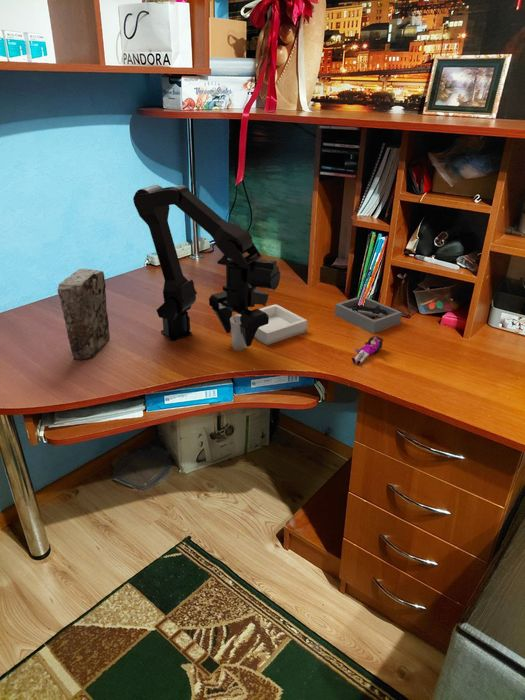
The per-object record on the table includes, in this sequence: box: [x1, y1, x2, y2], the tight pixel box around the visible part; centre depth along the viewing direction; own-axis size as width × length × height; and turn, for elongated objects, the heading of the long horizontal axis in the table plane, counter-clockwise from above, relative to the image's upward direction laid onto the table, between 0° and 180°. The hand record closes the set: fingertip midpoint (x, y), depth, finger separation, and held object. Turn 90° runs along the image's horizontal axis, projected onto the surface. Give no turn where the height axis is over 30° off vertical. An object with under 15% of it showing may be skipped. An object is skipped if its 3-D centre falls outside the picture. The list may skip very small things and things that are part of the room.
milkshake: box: [230, 313, 247, 351], centre depth 137 cm, size 4×5×10 cm
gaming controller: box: [349, 302, 387, 320], centre depth 155 cm, size 11×4×7 cm
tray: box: [253, 303, 308, 346], centre depth 149 cm, size 14×14×4 cm
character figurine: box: [351, 335, 384, 366], centre depth 136 cm, size 6×5×12 cm
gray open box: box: [334, 297, 403, 334], centre depth 155 cm, size 11×15×4 cm
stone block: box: [57, 268, 111, 361], centre depth 133 cm, size 13×7×20 cm, turn 175°
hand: (238, 339), depth 138 cm, fingers open, 9 cm apart
